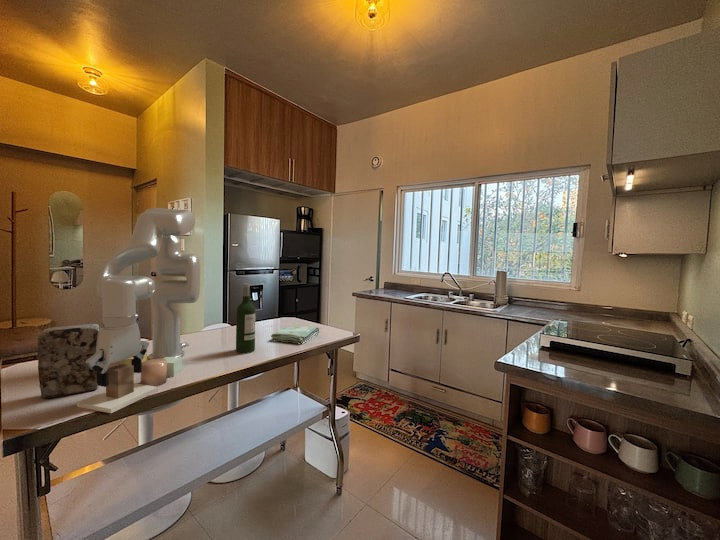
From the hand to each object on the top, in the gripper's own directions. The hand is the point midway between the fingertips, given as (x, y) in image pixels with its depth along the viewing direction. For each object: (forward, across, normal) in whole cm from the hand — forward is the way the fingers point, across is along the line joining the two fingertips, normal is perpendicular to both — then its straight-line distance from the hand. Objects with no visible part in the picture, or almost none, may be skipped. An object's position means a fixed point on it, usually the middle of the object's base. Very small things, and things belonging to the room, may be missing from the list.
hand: (120, 378), depth 88 cm
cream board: (+6, 0, 0) cm, 6 cm away
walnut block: (+4, 0, 0) cm, 4 cm away
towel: (+7, -75, +20) cm, 78 cm away
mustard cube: (+6, -18, -16) cm, 24 cm away
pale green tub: (+6, -18, -2) cm, 20 cm away
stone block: (+6, +2, -17) cm, 18 cm away
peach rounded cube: (+6, -10, 0) cm, 12 cm away
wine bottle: (+7, -48, +8) cm, 50 cm away
